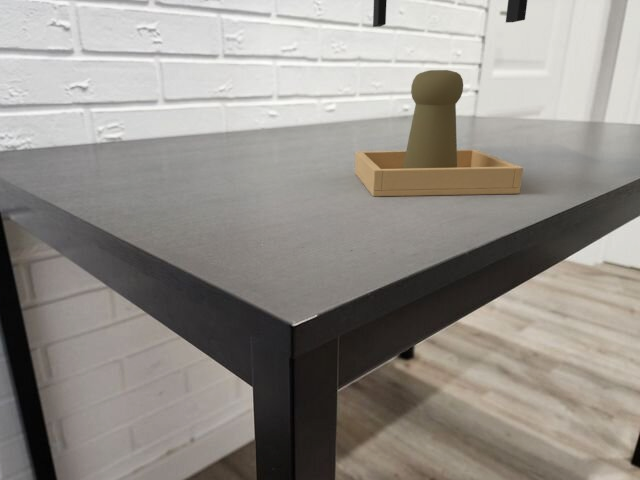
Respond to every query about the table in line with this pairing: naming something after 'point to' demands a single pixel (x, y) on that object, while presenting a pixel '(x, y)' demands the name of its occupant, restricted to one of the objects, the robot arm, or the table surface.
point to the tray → (437, 175)
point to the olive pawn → (434, 120)
